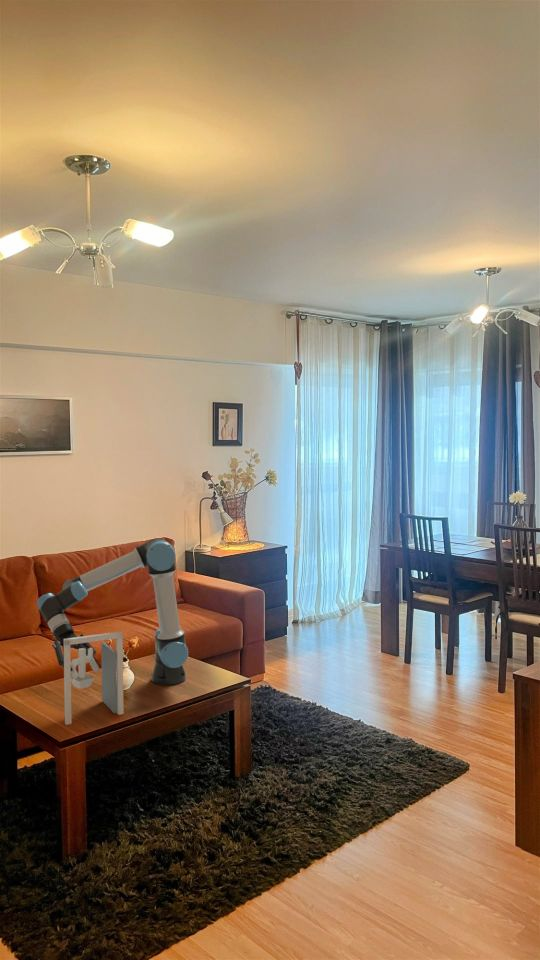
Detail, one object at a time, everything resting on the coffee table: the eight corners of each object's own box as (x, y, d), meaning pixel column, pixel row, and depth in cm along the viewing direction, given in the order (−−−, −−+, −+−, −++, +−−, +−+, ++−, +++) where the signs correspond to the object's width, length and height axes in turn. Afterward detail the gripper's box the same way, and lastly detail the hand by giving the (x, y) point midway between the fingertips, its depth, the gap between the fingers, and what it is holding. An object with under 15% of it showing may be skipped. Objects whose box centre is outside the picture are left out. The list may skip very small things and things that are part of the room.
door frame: (122, 712, 271) (120, 631, 270) (123, 713, 269) (122, 632, 268) (64, 723, 260) (63, 638, 259) (66, 724, 259) (64, 640, 257)
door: (120, 711, 270) (119, 651, 269) (113, 713, 269) (112, 652, 268) (108, 699, 284) (107, 641, 284) (102, 700, 283) (101, 642, 282)
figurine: (66, 687, 270) (66, 649, 270) (87, 681, 277) (87, 644, 277) (76, 691, 265) (76, 652, 265) (97, 685, 272) (97, 647, 272)
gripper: (79, 628, 289) (104, 672, 280) (33, 639, 271) (59, 687, 262) (87, 617, 285) (113, 662, 277) (41, 628, 267) (68, 676, 259)
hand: (87, 674), depth 269 cm, fingers closed on figurine, 9 cm apart
